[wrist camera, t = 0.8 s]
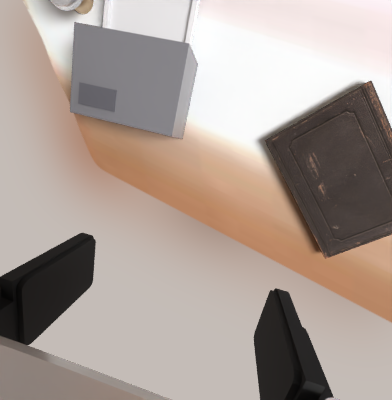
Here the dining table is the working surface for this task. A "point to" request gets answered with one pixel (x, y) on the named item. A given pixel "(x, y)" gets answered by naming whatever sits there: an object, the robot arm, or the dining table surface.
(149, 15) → the tray
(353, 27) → the dining table surface
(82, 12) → the stand
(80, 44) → the housing
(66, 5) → the disc
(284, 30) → the dining table surface
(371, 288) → the dining table surface
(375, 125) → the hardcover book
